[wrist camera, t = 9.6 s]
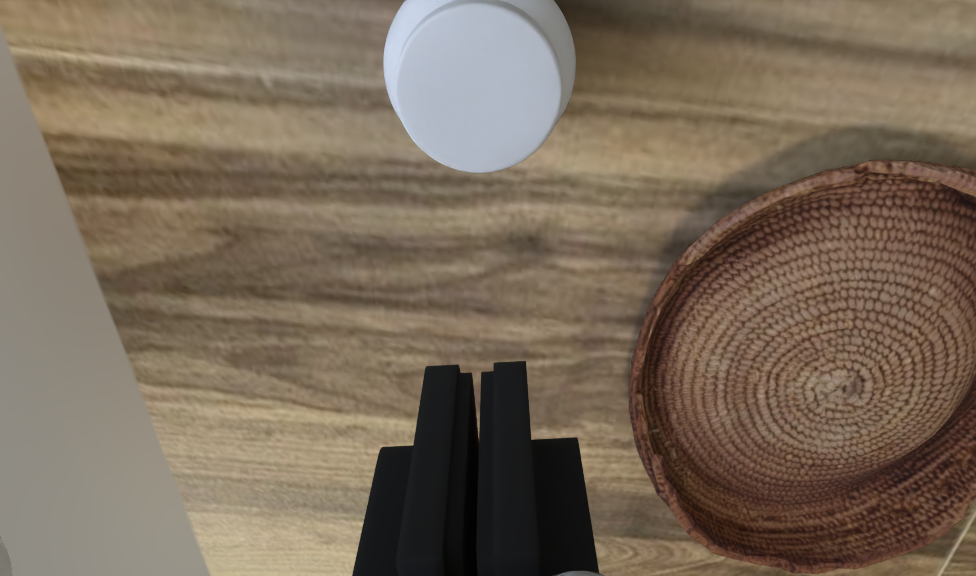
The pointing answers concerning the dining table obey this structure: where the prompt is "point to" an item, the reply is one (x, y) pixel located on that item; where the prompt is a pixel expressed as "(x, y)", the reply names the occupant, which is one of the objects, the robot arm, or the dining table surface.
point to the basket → (818, 370)
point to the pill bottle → (479, 78)
